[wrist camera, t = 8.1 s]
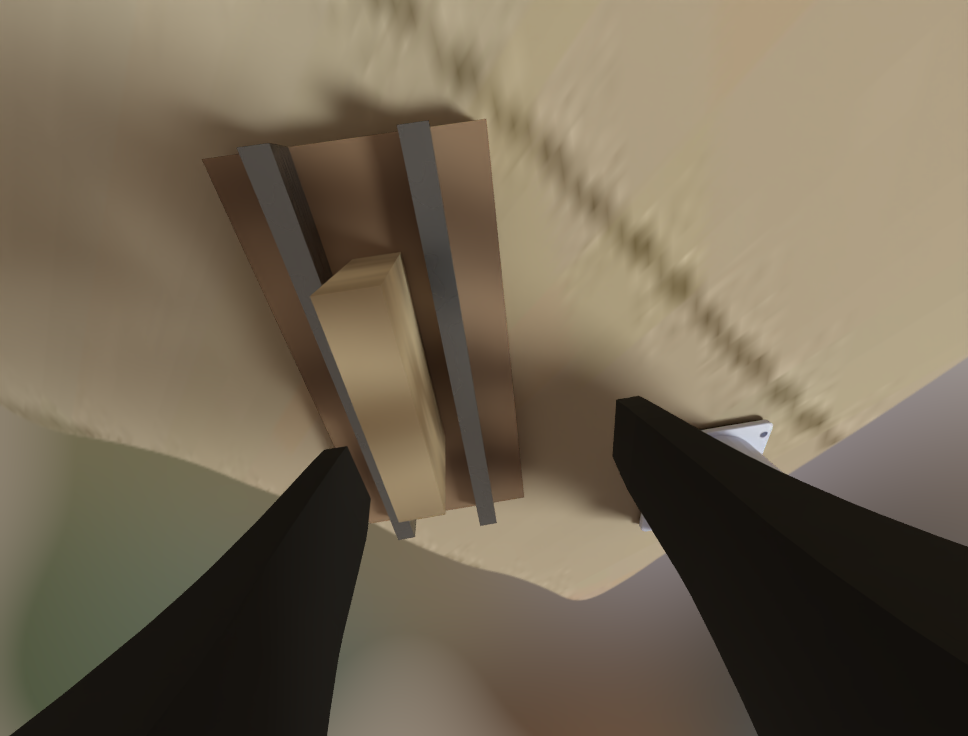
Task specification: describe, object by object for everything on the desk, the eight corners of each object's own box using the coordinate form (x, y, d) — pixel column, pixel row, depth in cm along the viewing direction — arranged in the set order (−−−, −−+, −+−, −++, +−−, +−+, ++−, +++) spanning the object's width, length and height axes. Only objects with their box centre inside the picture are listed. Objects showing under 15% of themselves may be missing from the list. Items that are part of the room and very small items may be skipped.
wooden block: (445, 437, 19) (445, 514, 15) (409, 442, 19) (399, 522, 14) (401, 252, 14) (381, 285, 10) (352, 259, 14) (309, 296, 10)
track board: (519, 479, 23) (529, 517, 21) (374, 504, 23) (365, 545, 20) (482, 124, 13) (491, 111, 11) (226, 161, 13) (171, 156, 10)
